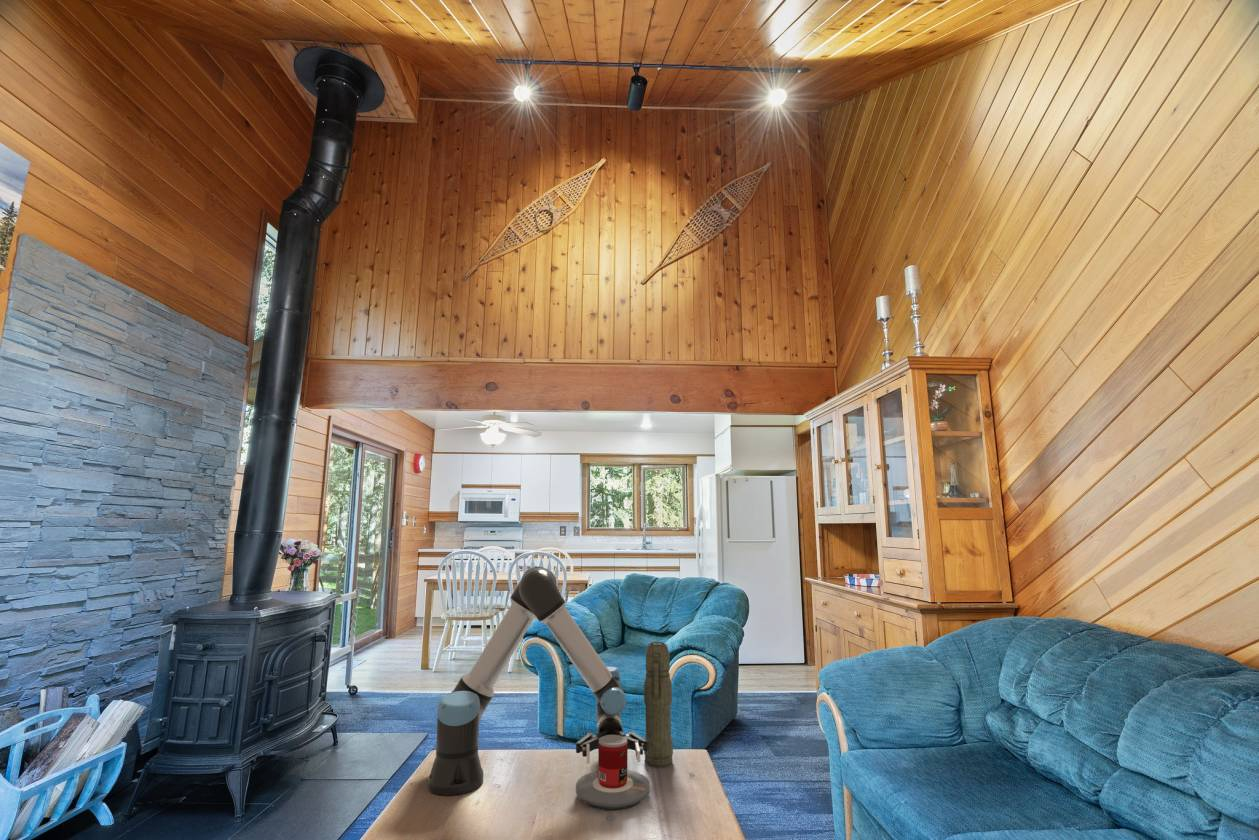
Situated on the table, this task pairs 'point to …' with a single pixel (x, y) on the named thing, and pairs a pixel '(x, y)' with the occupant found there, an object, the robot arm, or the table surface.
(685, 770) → the table surface
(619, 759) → the canned food
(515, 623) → the robot arm
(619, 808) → the turntable base
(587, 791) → the turntable
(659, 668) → the olive brown statue
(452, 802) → the table surface
